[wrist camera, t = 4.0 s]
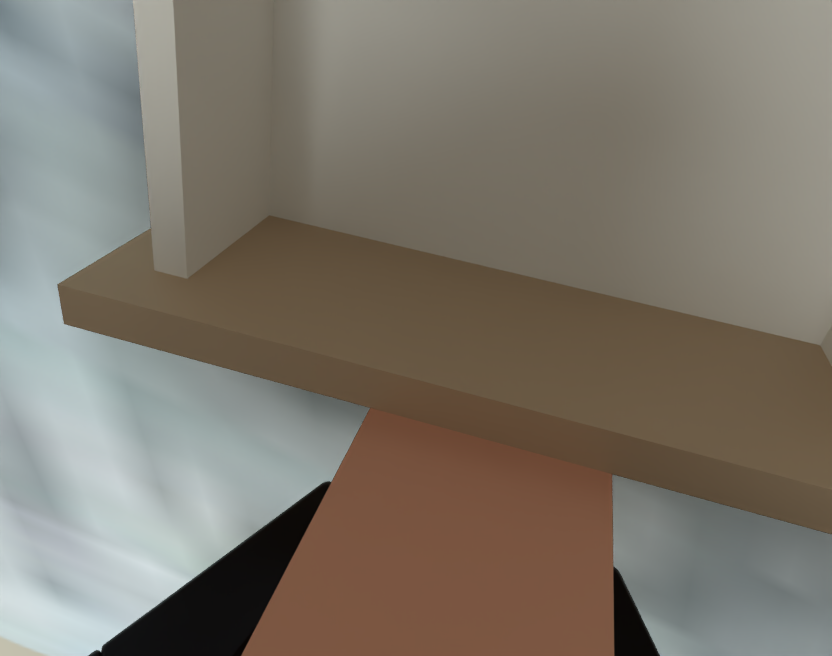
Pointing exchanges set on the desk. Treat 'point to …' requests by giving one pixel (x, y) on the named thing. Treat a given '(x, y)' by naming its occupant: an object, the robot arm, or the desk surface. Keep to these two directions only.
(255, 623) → the robot arm
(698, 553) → the desk surface
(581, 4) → the tray
